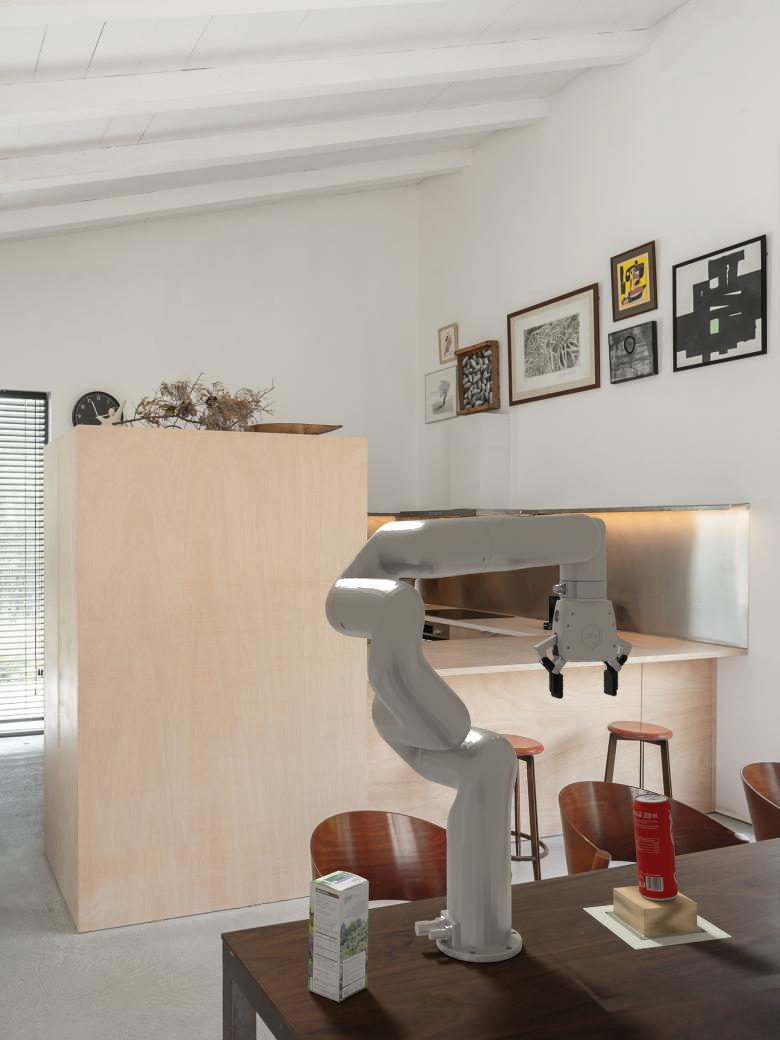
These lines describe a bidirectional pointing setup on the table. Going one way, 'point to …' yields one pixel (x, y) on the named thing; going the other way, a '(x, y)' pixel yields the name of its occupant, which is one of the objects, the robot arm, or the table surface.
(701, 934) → the board
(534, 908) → the table surface
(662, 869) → the beverage can
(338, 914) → the syrup box
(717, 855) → the table surface
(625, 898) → the oak block
